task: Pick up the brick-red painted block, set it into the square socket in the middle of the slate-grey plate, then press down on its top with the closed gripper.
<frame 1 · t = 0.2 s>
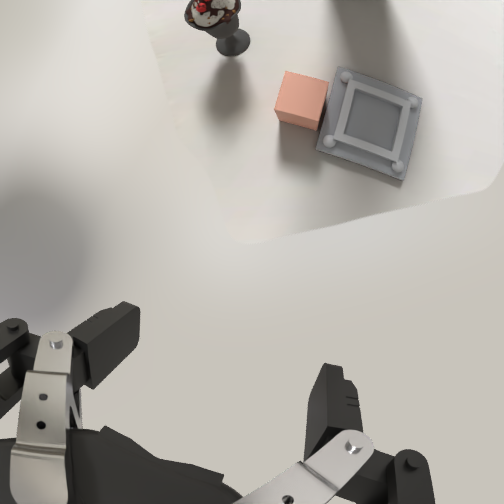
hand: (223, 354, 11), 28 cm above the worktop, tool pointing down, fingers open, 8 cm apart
sundae: (233, 42, 34), on the worktop
block: (302, 108, 34), on the worktop
plate: (370, 122, 33), on the worktop
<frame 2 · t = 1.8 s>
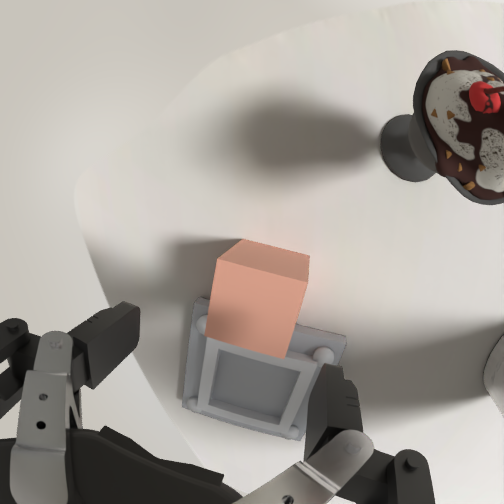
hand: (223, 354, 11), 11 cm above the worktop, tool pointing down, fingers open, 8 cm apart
sundae: (411, 148, 18), on the worktop
block: (268, 278, 22), on the worktop
plate: (255, 375, 24), on the worktop
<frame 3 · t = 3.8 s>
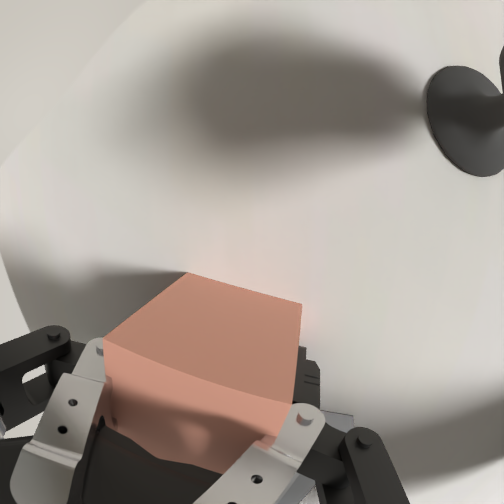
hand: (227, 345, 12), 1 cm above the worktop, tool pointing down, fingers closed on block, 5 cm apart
sundae: (471, 120, 9), on the worktop
block: (232, 338, 13), on the worktop, touching gripper
plate: (222, 453, 15), on the worktop
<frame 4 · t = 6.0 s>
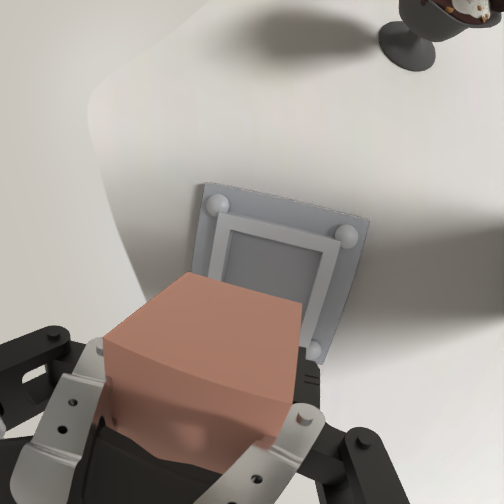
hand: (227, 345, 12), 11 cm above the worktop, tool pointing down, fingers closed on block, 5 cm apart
sundae: (406, 46, 16), on the worktop
block: (232, 337, 13), point 10 cm above the worktop, touching gripper
plate: (270, 275, 23), on the worktop
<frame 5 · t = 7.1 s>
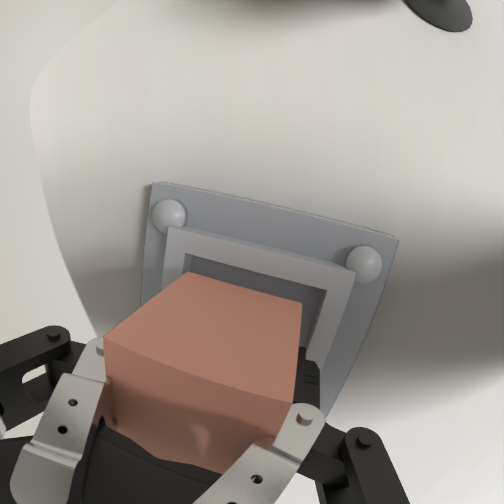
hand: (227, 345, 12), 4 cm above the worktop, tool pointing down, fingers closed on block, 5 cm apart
sundae: (435, 2, 9), on the worktop
block: (232, 337, 13), point 3 cm above the worktop, touching gripper
plate: (249, 315, 16), on the worktop
when the fingers open (2 cm above the worktop, at t = 8.2 s): block stays where it is, resting on plate.
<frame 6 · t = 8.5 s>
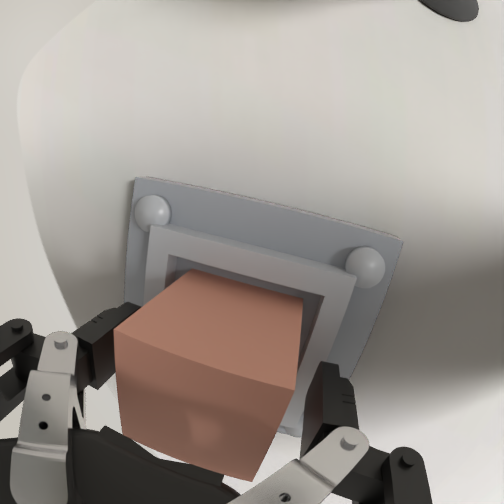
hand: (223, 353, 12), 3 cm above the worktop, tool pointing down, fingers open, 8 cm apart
block: (235, 332, 13), point 1 cm above the worktop, touching plate
plate: (240, 321, 14), on the worktop
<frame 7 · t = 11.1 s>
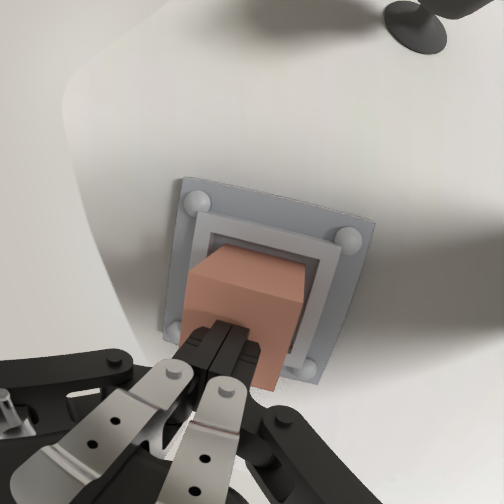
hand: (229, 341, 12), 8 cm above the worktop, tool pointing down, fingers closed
sundae: (415, 27, 13), on the worktop
block: (256, 290, 18), point 1 cm above the worktop, touching plate
plate: (258, 284, 20), on the worktop
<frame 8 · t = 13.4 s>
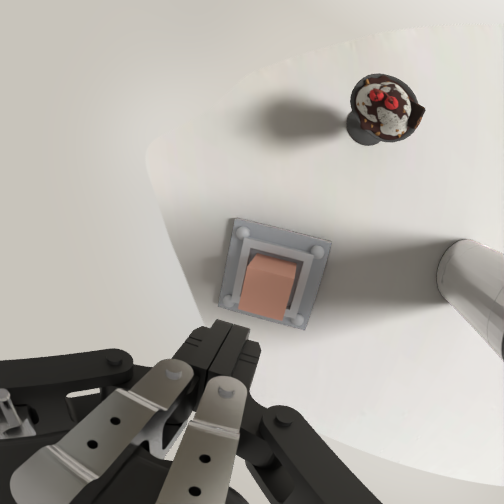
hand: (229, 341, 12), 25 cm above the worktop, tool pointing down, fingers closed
sundae: (365, 126, 31), on the worktop
block: (272, 277, 37), point 1 cm above the worktop, touching plate
plate: (272, 274, 38), on the worktop
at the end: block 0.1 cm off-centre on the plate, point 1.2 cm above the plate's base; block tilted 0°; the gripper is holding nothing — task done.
